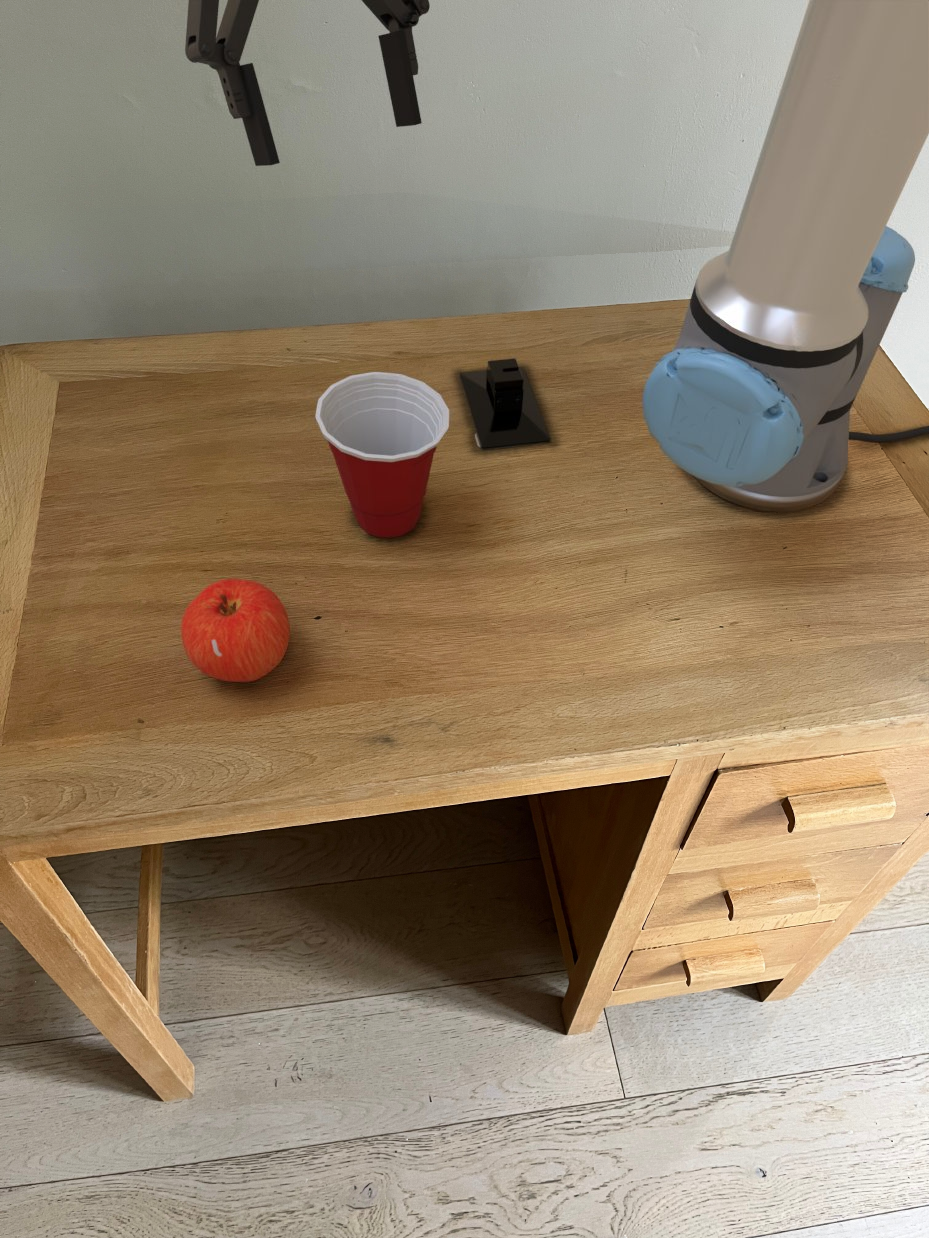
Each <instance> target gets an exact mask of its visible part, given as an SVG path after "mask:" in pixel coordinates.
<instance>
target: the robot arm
mask: <svg viewBox="0 0 929 1238" xmlns="http://www.w3.org/2000/svg"><path fill="white" fill-rule="evenodd" d="M361 1H362V3H363V4H364V5H365V6H366V7H367V8H368V10H370V12H371V13H372V14H373V15H374V17H375V18H377V20H378V21H379V22H380V23H381V24H382V25H383V27H384V28H385V30H387V31H388V32H387V33H384V34H380V35H379V34H378V41H379V47H380V52H381V57H382V61H383V68H384V71H385V72H384V73H385V76H386V81H387V86H388V92H389V98H390V101H391V106H392V112H393V116H394V121H395V127H396V128H401V127H402V128H403V127H411V126H418V125H422V124H423V123H422V118H421V111H420V107H419V101H418V95H417V90H416V84H415V79H414V76H417V75H419V63H418V56H417V50H416V46H415V40H414V34H413V27H416V26H417V25H418V24H419V21H420V17H421V16H423V15H426V14H427V13H429V10H430V1H429V0H361ZM259 2H260V0H227V2H226V5H225V8H224V12H223V14H222V18H221V22H220V24H219V27H218V19H219V7H220V0H188V4H187V16H186V17H187V19H186V32H185V33H186V34H185V45H184V54H185V56H186V58H187V60H188V61H189V62H191V63H194V64H197V63H199V64H204V65H207V66H209V67H210V68H211V69H213V70H215V71H216V72H217V75H218V77H219V81H220V85H221V88H222V91H223V95H224V98H225V101H226V106H227V109H228V112H229V113H230V115H231V117H232V118H233V119H234V120H238V119H242V124H243V127H244V130H245V133H246V138H247V141H248V144H249V148H250V151H251V155H252V158H253V162H254V165H255V167H263V166H265V167H266V166H274V165H277V164H280V163H281V162H280V158H279V155H278V151H277V147H276V143H275V140H274V136H273V131H272V129H271V125H270V122H269V118H268V117H269V116H268V114H267V111H266V107H265V106H266V105H265V103H264V99H263V95H262V92H261V88H260V84H259V81H258V77H257V73H256V70H255V67H254V66H255V65H254V62H249V63H244V64H241V63H240V61H241V59H242V56H243V53H244V50H245V47H246V43H247V39H248V36H249V33H250V30H251V27H252V24H253V21H254V17H255V15H256V12H257V8H258V5H259ZM928 136H929V0H808V3H807V7H806V10H805V13H804V15H803V20H802V23H801V26H800V28H799V32H798V35H797V38H796V41H795V44H794V47H793V50H792V53H791V56H790V60H789V63H788V66H787V69H786V71H785V75H784V78H783V81H782V85H781V88H780V91H779V94H778V97H777V100H776V103H775V106H774V110H773V113H772V115H771V118H770V122H769V125H768V128H767V131H766V134H765V137H764V141H763V144H762V147H761V149H760V153H759V157H758V159H757V162H756V165H755V169H754V172H753V175H752V178H751V181H750V184H749V187H748V190H747V194H746V196H745V200H744V203H743V206H742V209H741V212H740V215H739V218H738V221H737V224H736V227H735V230H734V233H733V236H732V240H731V243H730V246H729V249H728V250H727V251H725V252H722V253H720V254H718V255H716V256H714V257H713V258H711V259H710V260H708V261H707V262H706V263H705V264H704V265H703V266H702V267H701V269H700V270H699V273H698V275H697V277H696V279H695V283H694V286H693V289H692V293H691V297H690V300H689V303H688V305H687V309H686V312H685V316H684V319H683V321H682V322H683V323H682V326H681V330H680V332H679V336H678V338H677V340H676V342H675V343H674V346H673V348H672V349H671V350H670V351H669V352H667V353H665V354H664V355H663V356H662V357H661V358H660V359H659V360H658V361H657V362H656V363H655V365H654V367H653V369H652V371H651V372H650V374H649V376H648V377H647V379H646V381H645V385H644V387H643V392H642V399H641V400H642V401H641V402H642V403H641V404H642V412H643V417H644V421H645V425H646V426H647V429H648V431H649V433H650V435H651V437H653V438H654V440H656V441H657V442H658V443H659V448H660V450H661V451H662V453H664V455H665V456H666V457H667V458H668V459H669V460H670V461H671V462H672V463H674V464H675V465H676V466H678V467H679V468H680V469H682V470H683V471H685V472H686V473H687V474H689V475H691V476H693V477H694V478H695V479H696V480H697V482H699V483H700V484H701V485H702V486H703V487H705V488H706V489H707V490H708V491H710V492H711V493H713V494H715V496H718V497H720V498H722V499H724V500H726V501H729V502H730V503H732V504H735V505H739V506H742V507H744V508H748V509H753V510H757V511H763V512H775V513H785V512H786V513H787V512H795V511H796V512H797V511H801V510H807V509H809V508H812V507H815V506H817V505H819V504H821V503H823V502H824V501H826V500H827V499H829V498H830V497H831V496H832V495H833V494H834V493H835V491H836V490H837V488H838V487H839V484H840V482H841V481H842V479H843V476H844V474H845V472H846V470H847V467H848V462H849V442H850V441H859V442H866V443H872V444H873V443H874V444H882V443H883V444H885V443H893V442H900V441H906V440H909V439H910V440H911V439H913V438H918V437H922V436H925V435H926V436H927V435H929V425H925V426H924V425H923V426H920V427H916V428H912V429H908V430H904V431H898V432H891V433H882V434H881V433H880V434H879V433H877V434H876V433H868V432H860V431H851V430H850V420H851V417H850V416H851V409H852V407H853V405H854V402H855V400H856V398H857V396H858V393H859V391H860V390H861V388H862V385H863V383H864V380H865V378H866V376H867V374H868V372H869V369H870V367H871V366H872V363H873V360H874V358H875V355H876V353H877V351H878V349H879V346H880V345H881V343H882V340H883V338H884V335H885V333H886V331H887V329H888V327H889V324H890V323H891V320H892V318H893V316H894V313H895V311H896V309H897V306H898V304H899V302H900V300H901V298H902V295H903V293H907V291H908V290H909V281H910V278H911V275H912V272H913V270H914V267H915V262H916V255H915V251H914V248H913V246H912V245H911V243H910V242H909V241H908V240H907V238H905V237H904V236H903V235H901V234H900V233H898V232H897V231H896V230H894V229H893V228H891V227H889V226H888V225H887V224H888V222H889V220H890V218H891V216H892V214H893V212H894V210H895V207H896V205H897V203H898V201H899V199H900V197H901V194H902V192H903V191H904V188H905V186H906V184H907V182H908V180H909V177H910V175H911V173H912V171H913V170H914V169H913V168H914V167H915V165H916V163H917V161H918V158H919V156H920V153H921V152H922V150H923V147H924V145H925V143H926V140H927V139H928Z"/></svg>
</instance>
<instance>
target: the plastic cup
mask: <svg viewBox="0 0 929 1238" xmlns="http://www.w3.org/2000/svg"><path fill="white" fill-rule="evenodd" d="M314 417H315V419H316V422H317V425H318V426H319V429H320V431H321V433H322V436H323V438H324V439H325V440H326V441H327V442H328V446H329V449H330V451H331V453H332V456H333V458H334V462H335V464H336V468H337V470H338V473H339V476H340V480H341V483H342V486H343V488H344V492H345V494H346V497H347V499H348V501H349V503H350V507H351V510H352V512H353V515H354V517H355V519H356V522H357V523H358V525H359V527H360V528H361V529H362V530H363V531H364V532H366V533H367V534H368V535H370V536H371V535H372V536H374V537H377V538H396V537H400V536H403V535H405V534H407V533H409V532H410V531H412V530H413V529H414V528H415V526H416V524H417V523H418V522H419V519H420V517H421V513H422V508H423V502H424V498H425V496H426V493H427V487H428V483H429V478H430V473H431V469H432V464H433V459H434V454H435V452H436V451H437V447H438V444H439V443H440V441H441V440H443V437H445V435H446V433H447V431H448V430H449V427H450V409H449V407H448V405H447V404H446V402H445V400H444V399H443V397H442V395H441V394H440V393H438V391H436V390H435V389H433V388H432V387H431V386H429V385H428V384H427V383H425V382H424V381H422V380H418V379H416V378H413V377H410V376H407V375H404V374H401V373H394V372H382V371H371V372H365V373H359V374H352V375H349V376H347V377H345V378H343V379H341V380H339V381H337V382H334V383H333V384H331V385H329V387H328V388H327V389H326V390H325V391H324V393H323V394H321V396H319V398H318V400H317V406H316V410H315V416H314Z"/></svg>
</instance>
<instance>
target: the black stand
mask: <svg viewBox="0 0 929 1238" xmlns="http://www.w3.org/2000/svg"><path fill="white" fill-rule="evenodd" d="M458 375H459V376H458V377H459V380H460V383H461V386H462V390H463V394H464V397H465V400H466V403H467V406H468V410H469V413H470V416H471V420H472V424H473V426H474V429H475V434H474V439H475V442H476V445H477V447H478V448H480V449H481V450H482V451H488V450H497V449H506V448H514V447H516V448H517V447H524V446H533V445H542V444H543V445H544V444H549V443H551V436H550V433H549V430H548V428H547V426H546V422H545V420H544V417H543V415H542V413H541V410H540V407H539V405H538V402H537V399H536V397H535V394H534V392H533V388H532V386H531V383H530V380H529V379H528V375H527V374H526V371H525V368H524V367H523V366H519V363H518V360H517V359H516V358H506V359H495V360H488V361H487V366H486V369H483V370H482V369H481V370H472V371H463V372H459V374H458Z"/></svg>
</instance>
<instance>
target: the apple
mask: <svg viewBox="0 0 929 1238" xmlns="http://www.w3.org/2000/svg"><path fill="white" fill-rule="evenodd" d="M290 624H291V623H290V619H289V615H288V613H287V610H286V608H285V606H284V604H283V602H282V600H281V599H280V598H279V596H277V595H276V594H275V592H273V591H272V590H271V589H269V587H268V586H266V585H263V584H262V583H260V582H258V581H254V580H248V579H243V578H241V579H240V578H226V579H221V580H218V581H215V582H213V583H211V584H210V585H207V586H206V587H205V588H203V590H202V591H200V592H199V594H197V595H196V596H195V597H194V598H193V600H192V601H191V602H190V603H189V604H188V606H187V607H186V609H185V611H184V613H183V615H182V618H181V623H180V634H181V641H182V645H183V649H184V652H185V654H186V656H187V658H188V659H189V661H190V662H191V663H192V664H193V665H194V666H195V667H196V668H197V669H198V670H199V671H200V672H202V673H203V674H204V675H206V676H208V677H210V678H213V679H216V680H220V681H224V682H231V683H232V682H233V683H241V682H242V683H246V682H254V681H257V680H259V679H261V678H263V677H264V676H266V675H268V674H269V673H270V672H272V671H273V670H274V669H275V668H276V667H277V666H278V665H279V664H280V663H281V661H282V659H283V658H284V656H285V654H286V652H287V649H288V646H289V642H290V634H291V633H290V632H291V627H290V626H291V625H290Z"/></svg>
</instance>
